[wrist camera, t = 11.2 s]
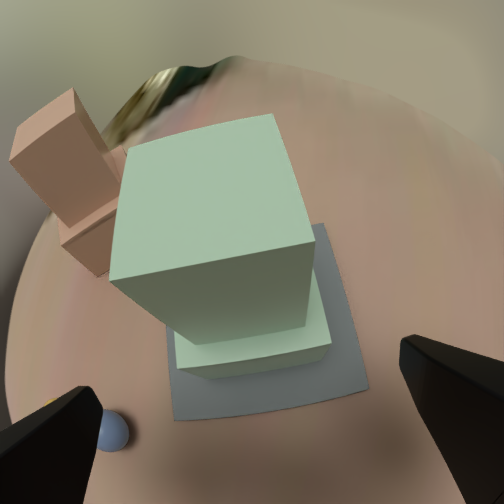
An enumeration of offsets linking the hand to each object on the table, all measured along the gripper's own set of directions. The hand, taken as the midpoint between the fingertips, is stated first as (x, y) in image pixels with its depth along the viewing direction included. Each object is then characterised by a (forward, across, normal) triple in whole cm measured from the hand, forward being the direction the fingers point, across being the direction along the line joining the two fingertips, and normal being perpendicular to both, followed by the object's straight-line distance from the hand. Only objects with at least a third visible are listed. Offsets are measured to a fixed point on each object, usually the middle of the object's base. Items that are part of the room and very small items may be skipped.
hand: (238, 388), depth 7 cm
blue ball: (+5, +11, +6) cm, 13 cm away
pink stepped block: (+18, +10, -4) cm, 21 cm away
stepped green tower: (+11, 0, +4) cm, 12 cm away
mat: (+11, 0, +4) cm, 12 cm away
